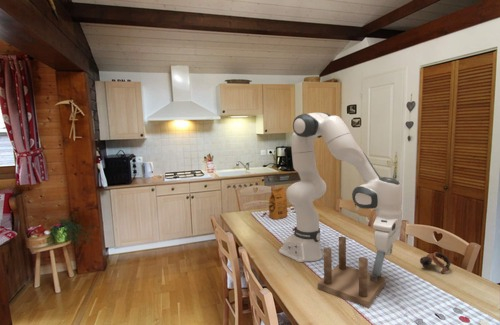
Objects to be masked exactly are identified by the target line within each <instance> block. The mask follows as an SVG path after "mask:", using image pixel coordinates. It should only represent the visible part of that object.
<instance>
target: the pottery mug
mask: <svg viewBox="0 0 500 325" xmlns="http://www.w3.org/2000/svg"><path fill="white" fill-rule="evenodd" d="M438 258H441V259H443V261H440V260H439V259H438ZM432 263H434V264H435V265H437V266H439V268H441V271H440V273H441V274H445V273H447V272H448V271H450V267H451V265H452V264H451V261H450V259H449V258H448V257H447V256H446V255H444V254H443V253H442V252H439V251H435V252H433V253H429V254H427V255H426V256H423V257H421V258H420V259H419V264H421V265H422V267H423V268H425V269H428V268H429V266H430V265H431V264H432ZM445 263H446V264H445Z"/></svg>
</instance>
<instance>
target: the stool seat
mask: <svg viewBox="0 0 500 325" xmlns="http://www.w3.org/2000/svg"><path fill="white" fill-rule="evenodd" d="M332 260H333V259H332V248H330V247H324V248H323V277H322V279H320V280H319V281H318V282H317V290H320V291H322V292H324V293H328V294H329V295H333V296H335V297H338V298H341V299H343V300H345V301H348V302H351V303H353V302H354V303H353V304H356V303H357V304H356V305H358V304H360V305H359V306H361V305H362V306H361V307H364V306H365V307H364V308H366V307H367V308H366V309H369V308H370V307H371V306H372V305H373V303H374V301H375V300H376V298H377V297H378V295H379V294H380V293H379V292H381V291H382V290H383V288H384V287H385V286H386V283H387V282H386V281H387V280H386V278H387V277H385V276H383V275H382V272H381V273H380V276H376V275H373V274H372V272H371V273H370V272H368V270H369V269H368V268H369V267H368V265H369V261H368V258H367V257H364V256H361V257H358V268H355V267H351V266H347V238H346V237H345V236H338V264H336V265H335V267H333V268H332V266H333V264H332ZM376 296H377V297H376ZM374 299H375V300H374ZM372 302H373V303H372ZM370 305H371V306H370Z"/></svg>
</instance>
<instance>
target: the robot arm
mask: <svg viewBox="0 0 500 325" xmlns="http://www.w3.org/2000/svg"><path fill="white" fill-rule="evenodd" d="M292 129H293V132H292V135H291V158H292V168H293V170H294V171H296V172H297V174H298V176H299V178H300V181H296V182H294V183H292V184H291V185H289V186H288V187H287V189H286V190H285V194H286V198H287V201H288V202H289V203H290V204H291V205H292V206H293V208H294V210H295V218H296V220H295V221H296V226H295V227H294V228H292V232H294V233H292V234H291V235H289V236H288V237H287V238H285V240H284V241H283V245H282V246H281V247H280V248H279V250H278V253H280V255H283V256H285V257H287V258H289V259H292V260H293V261H296V262H298V263H303V262H315V261H319V260H321V259H323V258H324V253H323V251H322V246H321V228H320V214H319V212H318V210H316V209H315V205H314V201H316V200H317V199H320V198H322V196H323V195H325V193H326V192H327V183H326V182H325V181H324V179H323V178H322V177H321V176H320V173H319V170H318V168H317V161H316V160H317V159H316V152H315V151H316V149H315V139H316V138H318V139H319V138H323V140H324V141H325V144H326V146H327V149H328V150H329V152H330V154H331V155H332V156H333V157H334V158H335V159H336V160H338V161H339V160H340V161H343V162H346V163H348V164H351V165H352V166H353V167H355V169H356V170H357V172H358V173H359V175H360V176H361V178H362V180H363V181H364V183H363V184H361V185H358V186H356V187H355V188H353V190H352V193H351V198H352V201H353V203H354V204H355V205H356V206H357V207H358V208H360V209H368V210H369V209H375V220H374V222H373V223H372V228H373V229H374V247H375V249H376V251H377V250H378V251H382V252H385V256H388V257H389V256H391V255H392V253H393V247H394V243H395V242H396V241H397V240H398V238H399V237H400V236H401V227H402V224H403V218H402V217H403V216H402V215H403V213H402V209H401V208H402V207H401V206H402V203H403V192H402V186H401V183H400V182H399V181H398V180H397V179H394V178H392V177H388V176H387V177H386V176H384V177H383V176H382V177H381V176H380V175H379V173H378V172H377V170H376V169H375V167H374V166H373V164H372V163H371V161H370V160H369V158H368V156H367V155H366V154H365V152H364V151H363V150H362V148H361V147H360V146H359V144H358V143H357V141H356V140H355V138H354V135H353V134H352V133H351V130H350V129H349V127H348V126H347V125H346V123H345V122H344V120H343V119H342V118H341V117H340V116H339V115H331V114H329V113H326V112H309V113H302V114H299V115H297V116H295V118H294V120H293V123H292Z"/></svg>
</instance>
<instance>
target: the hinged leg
mask: <svg viewBox="0 0 500 325" xmlns="http://www.w3.org/2000/svg"><path fill="white" fill-rule="evenodd" d="M385 256H386V255H385V252H382V251H378V250H376V255H375V259H374V262H373V267H372V272H371V273H372V274H373V275H376V276H380V273H381V274H382V269H383V264H384V260H385Z"/></svg>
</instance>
